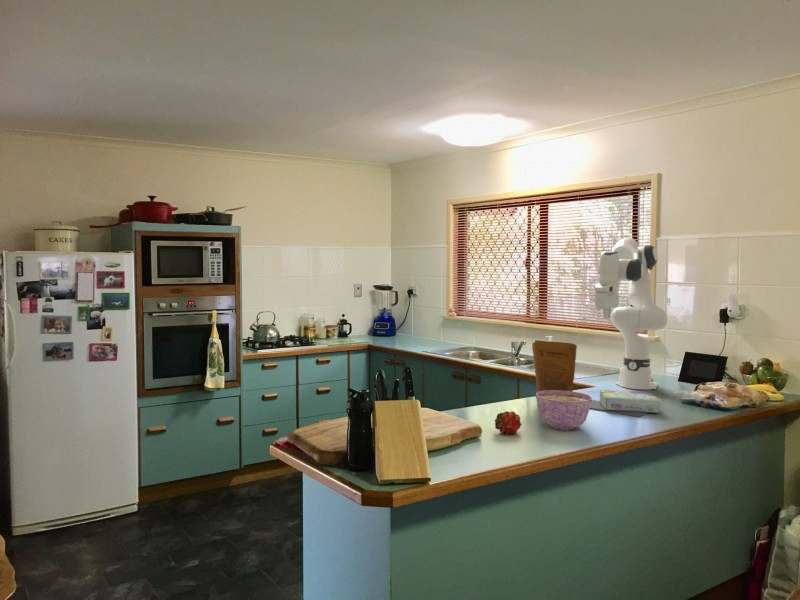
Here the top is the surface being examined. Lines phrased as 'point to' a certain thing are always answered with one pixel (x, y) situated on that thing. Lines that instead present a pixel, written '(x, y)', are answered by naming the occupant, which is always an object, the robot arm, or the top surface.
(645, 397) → the snack box
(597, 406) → the charcoal rubber mat
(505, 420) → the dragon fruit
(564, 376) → the pancake mix bag
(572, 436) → the top surface
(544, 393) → the bowl of food
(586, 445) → the top surface
